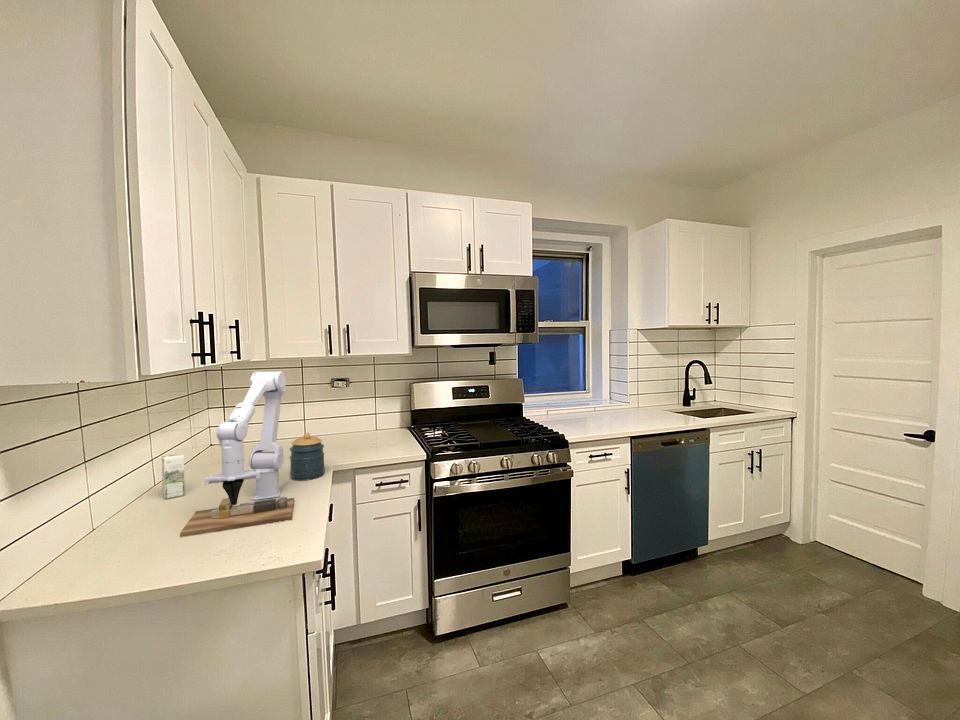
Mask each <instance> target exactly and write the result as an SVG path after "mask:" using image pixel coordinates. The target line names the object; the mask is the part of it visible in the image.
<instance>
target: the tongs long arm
mask: <svg viewBox="0 0 960 720" xmlns="http://www.w3.org/2000/svg"><path fill="white" fill-rule="evenodd" d="M237 506H238V505H237ZM275 508H276V504H275V501H273V502H265V503H258V504H253V505H245V506H238V507H231V508H229V516H233V515H240V514H247V513H256V512H263V511H270V510H275ZM215 509H216V508H215ZM211 516H212V518H219V509H216V510H212V512H211Z"/></svg>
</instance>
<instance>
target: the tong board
mask: <svg viewBox="0 0 960 720" xmlns="http://www.w3.org/2000/svg"><path fill="white" fill-rule="evenodd" d="M273 501H275V504H276V508H275V510H270V511H263V512H256V513H247V514H240V515H233V516H229V517H227V518H220V519H219V518H212V516H211V512H212V510H216V509H219V507H217V508H210V509H203V510H202V509H201V510H196V511H195V512H194V514H193V515H192V516H191V517H190V518H189V520H188V521H187V523H186V524H185V526H184V527H183V528H182V529H181V531H180V533H179V537H180V538H182V537H183V538H184V537H190V536H195V535H203V534H209V533H215V532H216V531H217V532H221V531H223V532H224V531H228V530H233V529H234V530H236V529H241V528H248V527H253V526H254V527H255V526H261V525H266V524H267V523H268V524H273V523H274V522H275V523H280V522H279V521H281V522H286V521H285V520H288V521H292V519H291V518H293V512H292V511H294V506H293V505H294V504H295V497H291V498H288V497H286V496H285V497H284V496H283V497H278V498H268V499H261V500H254V501H251V502H244V503H243V502H242V503H240V504H239V505H233V507H238V506H245V505H253V504H258V503H265V502H273Z"/></svg>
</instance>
